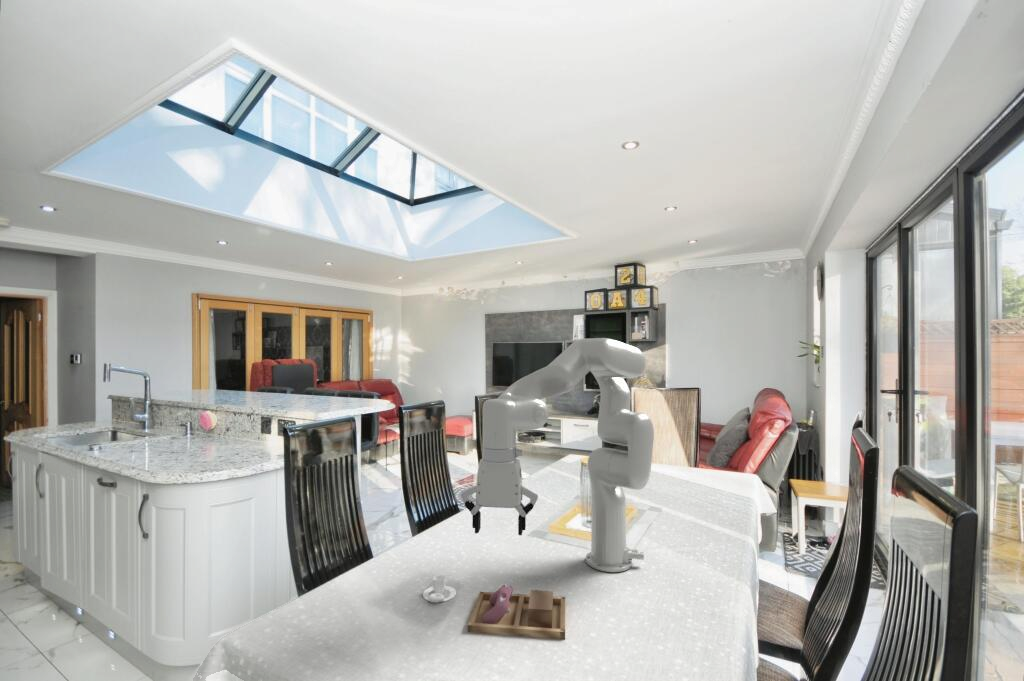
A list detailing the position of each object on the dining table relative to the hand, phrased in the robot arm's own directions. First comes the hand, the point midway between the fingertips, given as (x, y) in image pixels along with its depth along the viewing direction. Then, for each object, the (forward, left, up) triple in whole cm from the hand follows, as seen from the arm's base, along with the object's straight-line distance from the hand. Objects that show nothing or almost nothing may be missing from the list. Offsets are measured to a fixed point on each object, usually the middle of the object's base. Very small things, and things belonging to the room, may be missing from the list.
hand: (499, 532), depth 104 cm
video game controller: (0, 0, -18) cm, 18 cm away
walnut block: (-9, 0, -18) cm, 20 cm away
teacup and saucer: (+18, -6, -19) cm, 27 cm away
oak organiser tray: (-5, 0, -18) cm, 19 cm away
